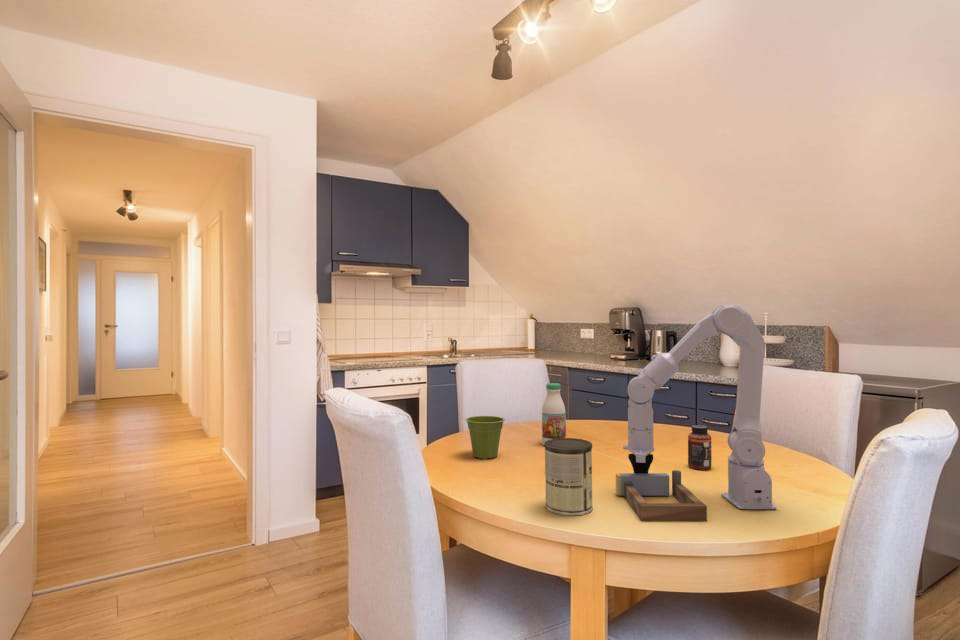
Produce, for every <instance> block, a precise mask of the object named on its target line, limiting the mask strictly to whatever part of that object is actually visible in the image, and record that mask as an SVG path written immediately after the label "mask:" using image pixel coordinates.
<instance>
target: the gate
mask: <svg viewBox="0 0 960 640" xmlns="http://www.w3.org/2000/svg"><path fill="white" fill-rule="evenodd" d="M624 482H632V483H633V487H634V488H635V489H636V490H637V491H638V493H639V494H640V495H641V496H642V497H643V496H648V497H649V496H670V475H669V474H668V473H667V472H666V473H663V472H662V473H661V472H660V473H659V472H658V473H657V472H656V473H655V472H653V473H649V472H648V473H634V472H632V473H631V472H629V473H628V472H627V473H625V472H624V473H615V494H616V495H617V496H624ZM624 497H625V496H624Z"/></svg>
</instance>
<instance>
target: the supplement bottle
mask: <svg viewBox="0 0 960 640" xmlns="http://www.w3.org/2000/svg"><path fill="white" fill-rule="evenodd" d="M687 463H688V467H689V468H691V469H693V470H698V471H699V470H701V471H704V470H705V471H707V470H710V469H711V468H712V436H711V435H710V434H709V433H708V426H706V425H702V424H700V425H699V424H696V425H691V432H690V433H688V435H687Z"/></svg>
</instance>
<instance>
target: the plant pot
mask: <svg viewBox="0 0 960 640" xmlns="http://www.w3.org/2000/svg"><path fill="white" fill-rule="evenodd" d="M464 420H465V421H466V423H467V427H468V431H469V436H470V442H471V444H470V445H471V450H472V455H473V457H474V458H478V459H480V458H484V459H483V460H487V459H486V458H490V459H492V458H497V457H498V454H499V453H498V452H499V446H500V440H501V433H502V430H503V425H504V422H505V421H506V418H504V417H500V416H496V415H495V416H493V415H475V416H469V417H466V418H465V419H464ZM496 456H497V457H496Z"/></svg>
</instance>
